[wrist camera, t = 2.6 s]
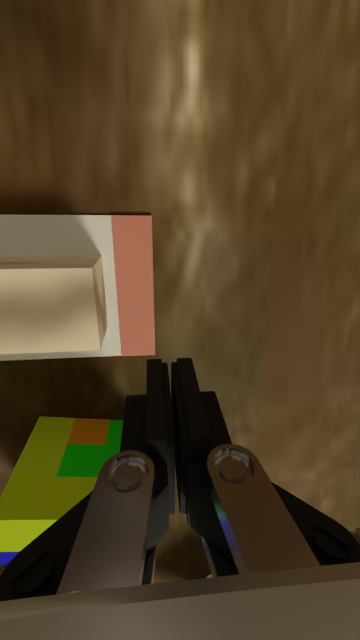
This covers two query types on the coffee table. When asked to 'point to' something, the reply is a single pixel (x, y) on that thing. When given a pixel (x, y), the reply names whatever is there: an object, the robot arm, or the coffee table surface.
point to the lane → (67, 240)
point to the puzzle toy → (53, 476)
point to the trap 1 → (134, 283)
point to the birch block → (52, 304)
